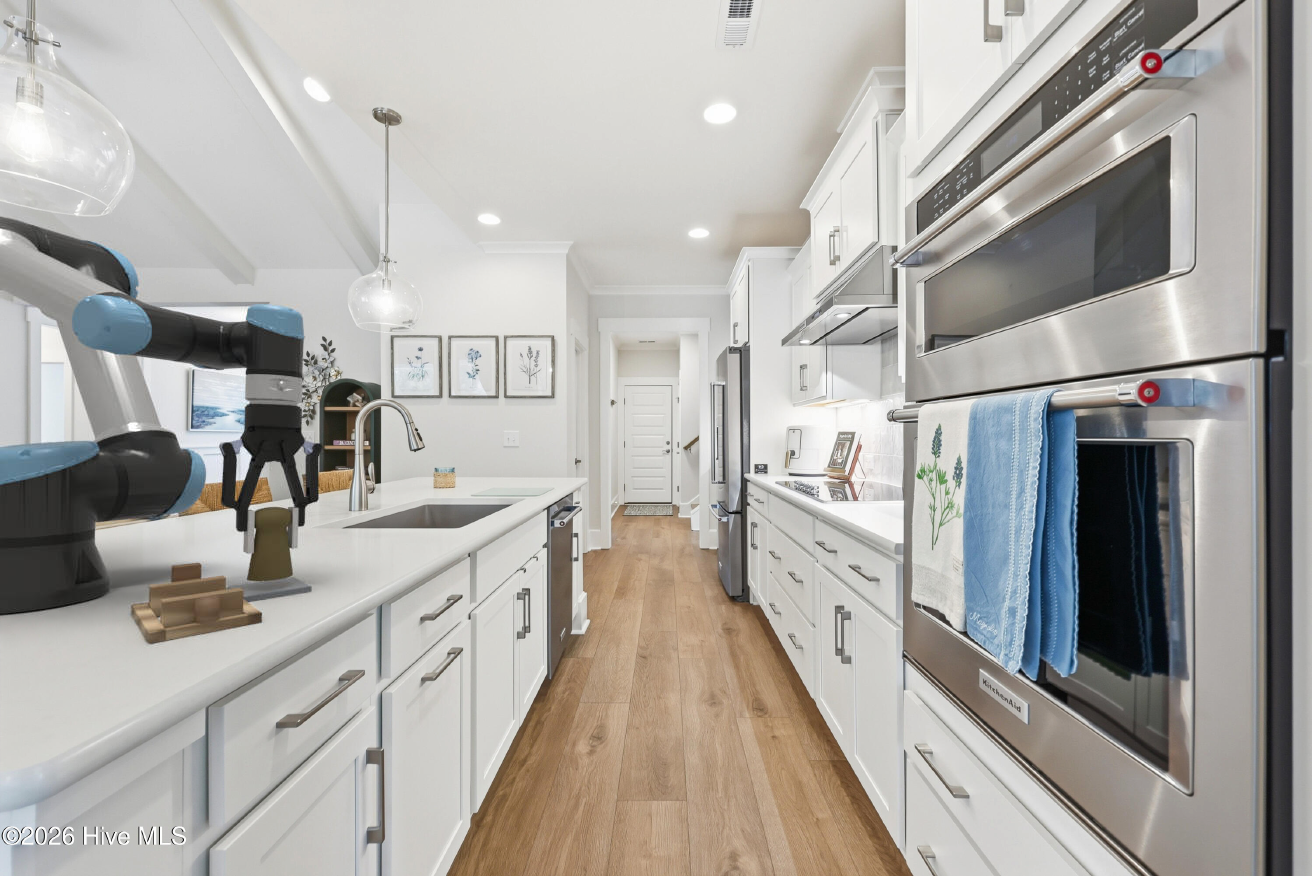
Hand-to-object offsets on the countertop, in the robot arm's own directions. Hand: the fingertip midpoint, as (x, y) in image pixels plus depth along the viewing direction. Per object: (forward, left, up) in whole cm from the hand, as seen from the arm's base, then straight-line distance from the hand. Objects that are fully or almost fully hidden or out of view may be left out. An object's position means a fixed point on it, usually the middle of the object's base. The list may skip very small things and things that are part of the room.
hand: (270, 549), depth 87 cm
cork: (0, 0, -4) cm, 4 cm away
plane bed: (+8, -11, -7) cm, 15 cm away
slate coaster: (0, 0, -7) cm, 7 cm away
